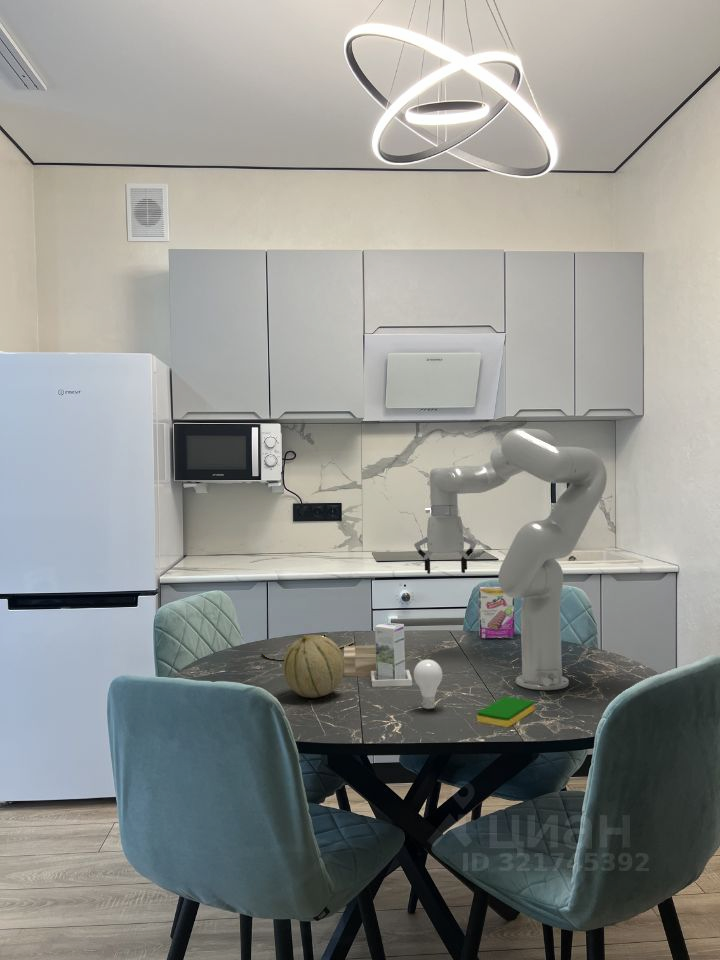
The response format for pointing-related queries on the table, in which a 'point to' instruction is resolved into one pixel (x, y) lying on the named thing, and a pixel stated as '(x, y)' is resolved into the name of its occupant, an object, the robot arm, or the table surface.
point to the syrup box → (390, 651)
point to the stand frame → (391, 681)
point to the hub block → (359, 660)
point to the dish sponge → (505, 711)
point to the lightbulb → (428, 681)
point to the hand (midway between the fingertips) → (445, 572)
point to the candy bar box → (495, 613)
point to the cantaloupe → (313, 666)
